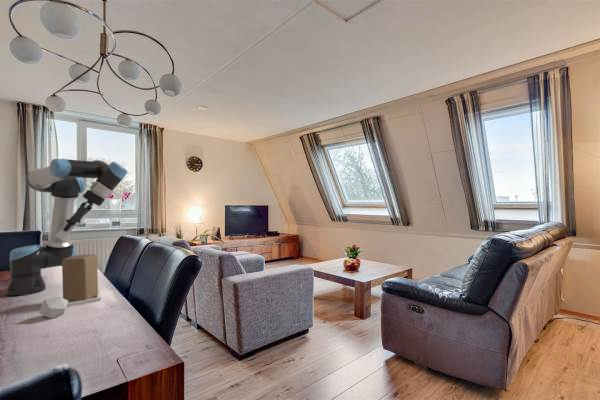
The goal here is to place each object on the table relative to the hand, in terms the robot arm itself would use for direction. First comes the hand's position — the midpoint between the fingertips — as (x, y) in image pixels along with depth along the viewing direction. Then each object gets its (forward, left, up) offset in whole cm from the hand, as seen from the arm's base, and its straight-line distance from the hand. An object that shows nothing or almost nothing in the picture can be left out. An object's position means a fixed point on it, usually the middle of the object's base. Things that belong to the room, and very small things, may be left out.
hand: (61, 235), depth 124 cm
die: (+4, -3, -31) cm, 32 cm away
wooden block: (-13, +6, -31) cm, 34 cm away
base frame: (-13, +6, -31) cm, 34 cm away
